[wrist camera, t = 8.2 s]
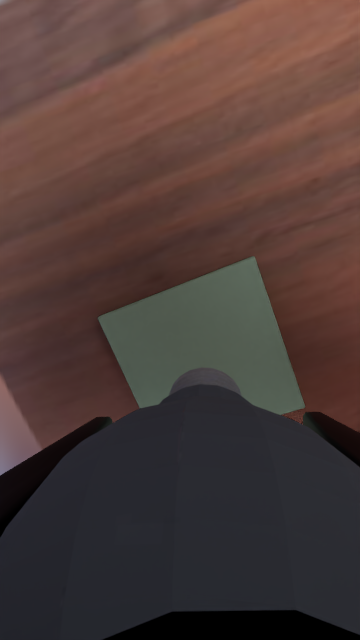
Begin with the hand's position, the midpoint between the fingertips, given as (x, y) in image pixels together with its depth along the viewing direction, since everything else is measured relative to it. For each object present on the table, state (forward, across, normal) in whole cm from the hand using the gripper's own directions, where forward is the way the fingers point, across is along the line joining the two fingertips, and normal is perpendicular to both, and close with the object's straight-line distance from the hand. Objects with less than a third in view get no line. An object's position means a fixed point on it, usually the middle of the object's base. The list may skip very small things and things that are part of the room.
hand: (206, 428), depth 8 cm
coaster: (+5, 0, 0) cm, 5 cm away
